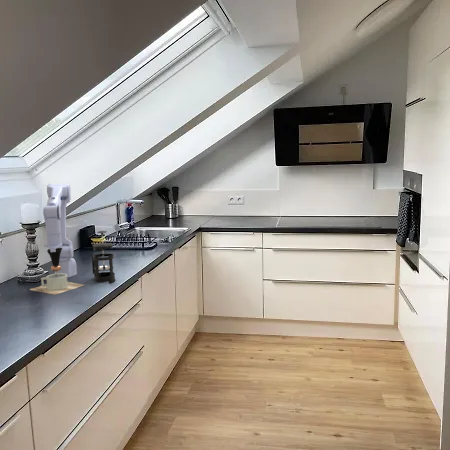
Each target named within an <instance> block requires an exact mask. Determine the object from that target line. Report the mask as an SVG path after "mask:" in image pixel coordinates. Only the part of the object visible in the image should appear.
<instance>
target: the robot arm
mask: <svg viewBox="0 0 450 450" xmlns="http://www.w3.org/2000/svg"><path fill="white" fill-rule="evenodd" d="M71 193H72V191H71V184H69V183H48V184H47V186H46V194H47V196H48V199H47V203H46V205H45V206H43V209H42V215H43V220H44V224H45V233H46V244H44V246H43V247H44V248H48V249H47V251H46V252H47V253H48V255H49V257H50V259H51V263H52V266H59V265H61V270H59V271H58V273H63V274H67V279H68V278H70V277H73V276H77V275H78V272H77V271H78V269H77V268H78V267H77V262H76V260H75V258H74V246H73V241H72V240H70V239H68V238H67V214H66V213H67V212H66V211H67V210H66V209H67V204H69V203H70V202H71V200H72V198H71V197H72V196H71Z"/></svg>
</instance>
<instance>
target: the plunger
mask: <svg viewBox="0 0 450 450" xmlns="http://www.w3.org/2000/svg"><path fill="white" fill-rule="evenodd" d="M59 270H61V265H59V266H53V265H51V266H50V271H53V272H54V274H55V276H54V277H51V278H60V277H63V276H58V271H59Z"/></svg>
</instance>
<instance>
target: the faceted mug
mask: <svg viewBox="0 0 450 450" xmlns="http://www.w3.org/2000/svg"><path fill="white" fill-rule="evenodd" d="M54 276H55V273H52V274H48V275H46V276H45V277H41V278H40V280H41V282H40V283H41V286H42V287H46V286H47V289H48V290H61V289H65V288H67V287H68V283H67V282H68V278H67V274H63V273H58V276H63V277H60V278H51V277H54ZM44 280H45V281H46V284H45V283H44Z"/></svg>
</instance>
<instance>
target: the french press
mask: <svg viewBox="0 0 450 450" xmlns="http://www.w3.org/2000/svg"><path fill="white" fill-rule="evenodd" d="M104 233H107V230H100V231H97V234H100V236H101V242H100V243H94V244H92V247H93V251H95V252H102V253H99V254H98V253H97V254H92V255H91V266H92V268H91V269H92V274H93V277H94V282H97V283H106V282H108V284H112V283H115V282H116V273H115V272H114V266H113V265H114V264H113V259H114V258H115V256H114V254H113V253H107V252H106V253H104V251H105V250H106V249H113V246H114V243H112V242H111V243H110V242H104ZM99 261H101V262H103V265H100V266H99ZM105 261H108V264H109V265H105Z"/></svg>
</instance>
